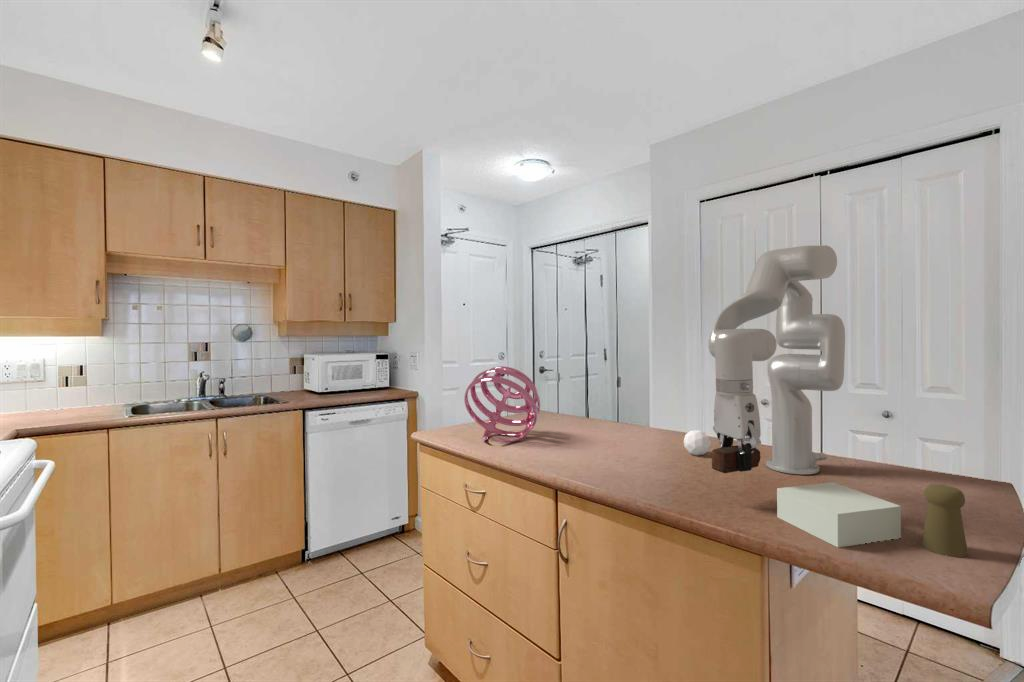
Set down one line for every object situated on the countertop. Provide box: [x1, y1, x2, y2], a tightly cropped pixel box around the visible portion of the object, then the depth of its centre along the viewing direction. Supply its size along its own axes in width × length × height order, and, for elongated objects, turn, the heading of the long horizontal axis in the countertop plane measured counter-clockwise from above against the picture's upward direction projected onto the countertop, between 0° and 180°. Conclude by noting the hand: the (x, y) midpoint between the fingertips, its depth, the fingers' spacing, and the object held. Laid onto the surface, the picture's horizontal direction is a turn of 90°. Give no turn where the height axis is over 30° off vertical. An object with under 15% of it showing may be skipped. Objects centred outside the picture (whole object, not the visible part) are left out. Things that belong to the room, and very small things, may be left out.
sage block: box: [776, 481, 902, 548], centre depth 91 cm, size 14×14×6 cm
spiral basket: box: [464, 366, 541, 444], centre depth 170 cm, size 28×28×27 cm
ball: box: [683, 429, 712, 456], centre depth 145 cm, size 8×8×8 cm
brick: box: [711, 443, 762, 474], centre depth 105 cm, size 11×4×5 cm, turn 112°
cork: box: [920, 483, 969, 558], centre depth 81 cm, size 6×6×11 cm
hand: (736, 466), depth 105 cm, fingers closed on brick, 4 cm apart
